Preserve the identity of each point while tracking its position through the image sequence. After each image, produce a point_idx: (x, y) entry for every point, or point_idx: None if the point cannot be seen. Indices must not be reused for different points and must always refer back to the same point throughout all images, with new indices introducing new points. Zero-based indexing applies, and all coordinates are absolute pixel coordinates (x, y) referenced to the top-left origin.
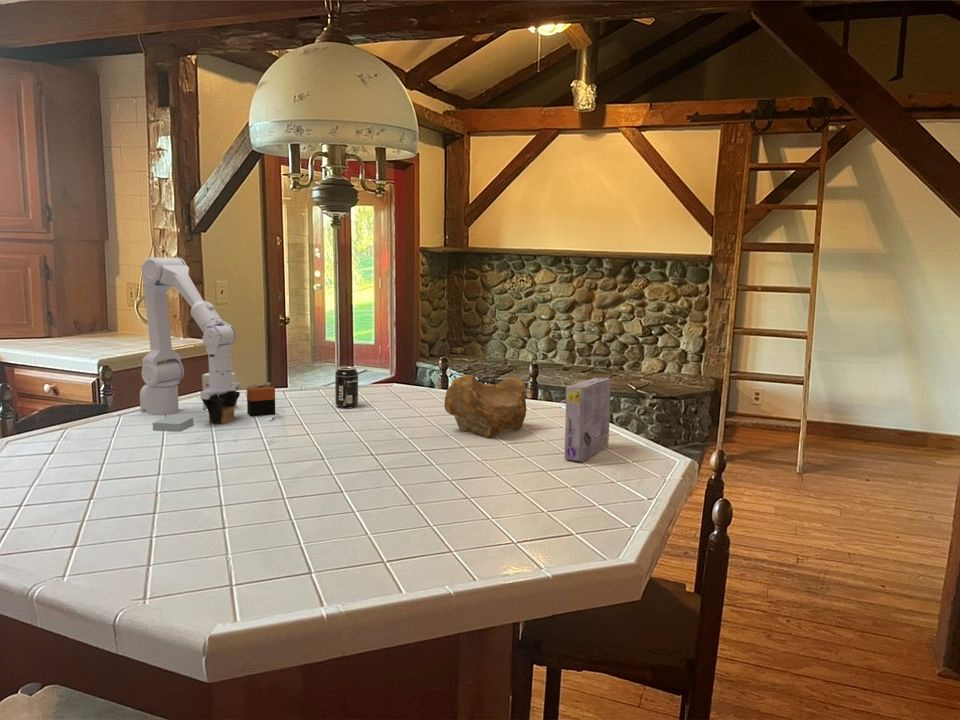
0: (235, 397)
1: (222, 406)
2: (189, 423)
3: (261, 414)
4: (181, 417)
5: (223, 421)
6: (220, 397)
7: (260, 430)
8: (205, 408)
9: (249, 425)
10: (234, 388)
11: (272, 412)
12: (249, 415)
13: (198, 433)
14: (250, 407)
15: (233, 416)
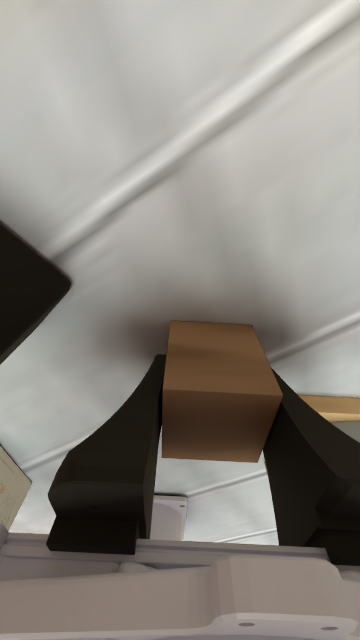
0: (138, 448)
1: (181, 438)
2: None
3: (2, 249)
4: None
5: (259, 349)
6: (151, 508)
7: (254, 91)
8: (27, 484)
9: (152, 247)
10: (281, 602)
11: None
12: (46, 314)
13: (341, 374)
14: (30, 327)
15: (175, 347)
